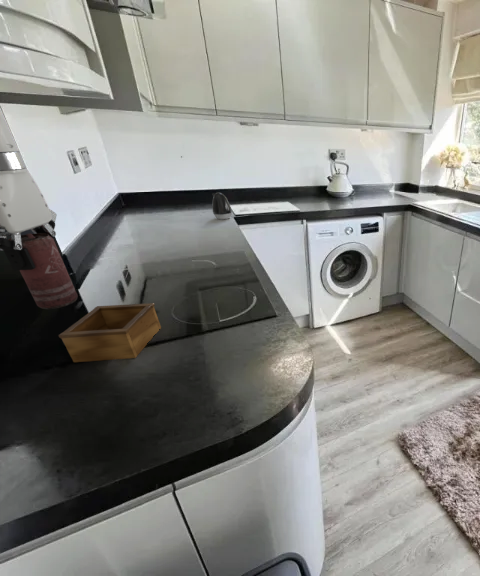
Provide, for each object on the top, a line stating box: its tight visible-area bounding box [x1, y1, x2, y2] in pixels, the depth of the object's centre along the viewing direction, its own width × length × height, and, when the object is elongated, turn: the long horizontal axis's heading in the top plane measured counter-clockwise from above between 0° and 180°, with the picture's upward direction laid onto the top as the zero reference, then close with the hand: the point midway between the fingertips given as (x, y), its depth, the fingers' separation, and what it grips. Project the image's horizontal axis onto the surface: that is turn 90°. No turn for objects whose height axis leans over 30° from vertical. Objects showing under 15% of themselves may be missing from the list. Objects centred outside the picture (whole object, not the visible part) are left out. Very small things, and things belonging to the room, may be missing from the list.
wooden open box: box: [57, 302, 162, 363], centre depth 79 cm, size 13×13×8 cm
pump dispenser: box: [211, 192, 233, 220], centre depth 190 cm, size 10×10×15 cm
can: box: [7, 233, 79, 310], centre depth 63 cm, size 6×6×14 cm
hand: (39, 261), depth 62 cm, fingers closed on can, 6 cm apart
